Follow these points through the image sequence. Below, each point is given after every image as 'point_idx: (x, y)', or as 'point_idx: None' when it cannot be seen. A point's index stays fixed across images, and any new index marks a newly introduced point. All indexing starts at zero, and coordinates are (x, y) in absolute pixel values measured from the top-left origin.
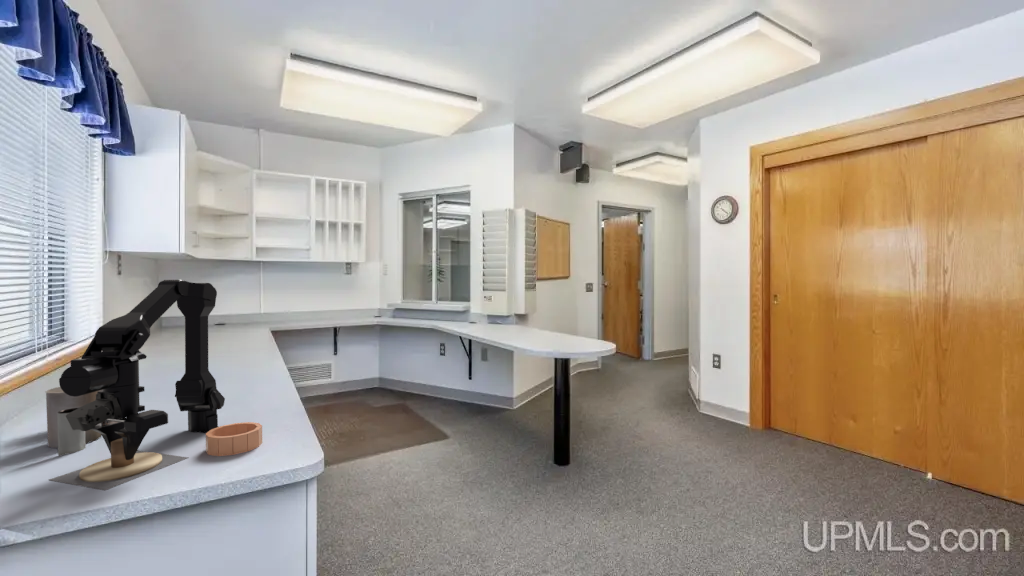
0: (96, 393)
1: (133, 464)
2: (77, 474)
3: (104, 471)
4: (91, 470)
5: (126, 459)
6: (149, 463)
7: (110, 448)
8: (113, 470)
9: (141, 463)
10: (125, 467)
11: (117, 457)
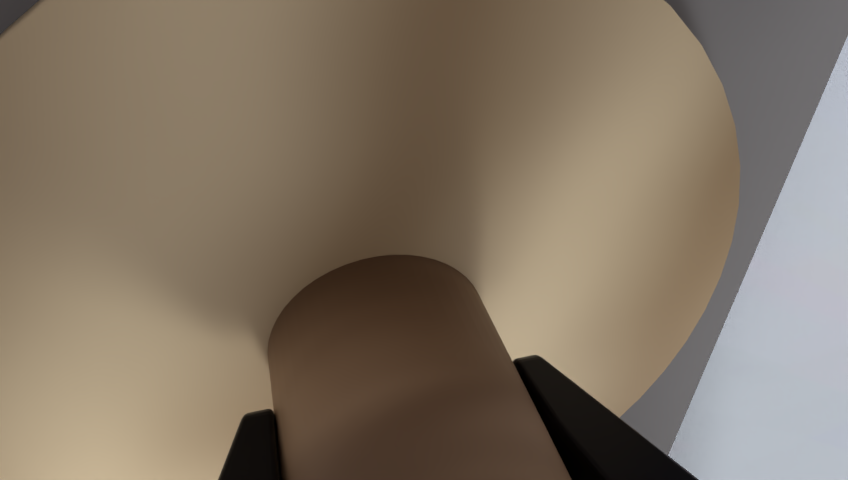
0: None
1: (241, 390)
2: (719, 9)
3: (339, 155)
4: (564, 103)
5: (254, 415)
6: (79, 474)
7: (604, 459)
8: (246, 221)
9: (176, 436)
10: (219, 323)
11: (339, 392)
